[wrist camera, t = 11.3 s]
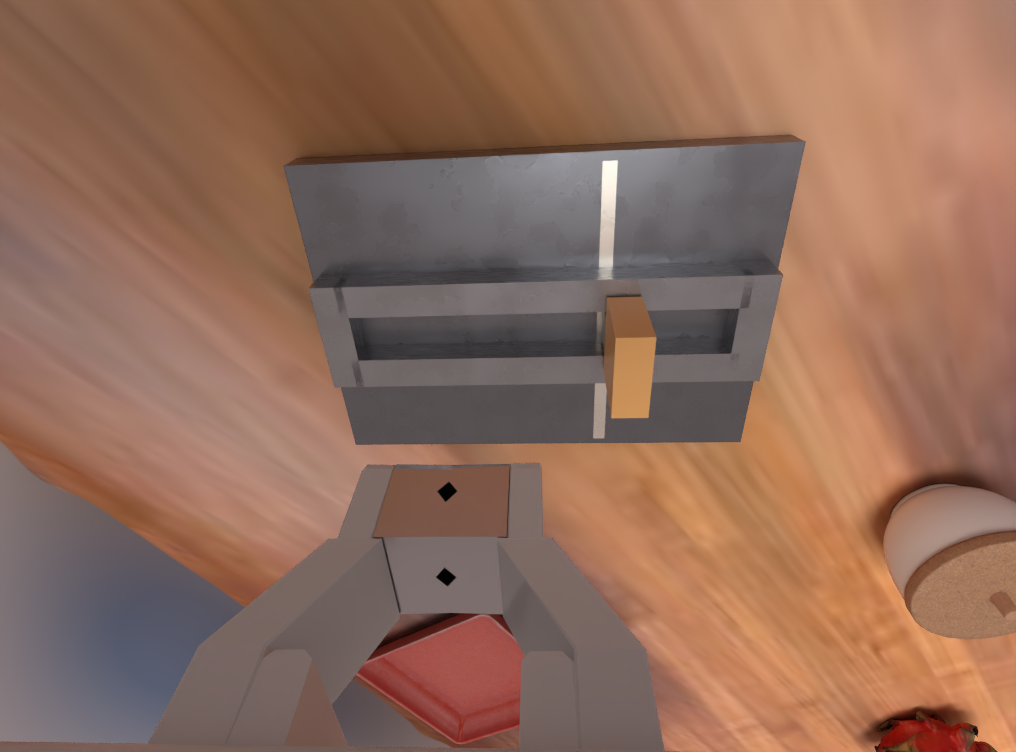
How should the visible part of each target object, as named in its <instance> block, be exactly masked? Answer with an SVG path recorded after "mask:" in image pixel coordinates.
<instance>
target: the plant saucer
mask: <svg viewBox="0 0 1016 752" xmlns="http://www.w3.org/2000/svg"><path fill="white" fill-rule="evenodd" d="M524 657H525V655H524V654H523V652H522V650H521V648H520V646H519V645H518V643H517V641H516V639H515V637H514V636H513V634H512V632H511V630H510V628H509V627H508V625H507V623H506V621H505V620H504V619H503V618H502V617H501V616H500V615H499V614H473V613H460V614H458V615H456V616H453V617H451V618H449V619H446V620H444V621H441V622H439V623H437V624H434V625H432V626H429V627H427V628H425V629H422V630H420V631H418V632H415V633H413V634H410V635H408V636H406V637H403V638H401V639H398V640H396V641H393V642H391V643H389V644H386V645H384V646H382V647H380V648H379V649H377V650H375V651H374V652H373V653H372V654H371V655H370V657H369V658H368V659H367V661H366V662H365V663H364V664H363V666H362V667H361V668H360V669H359V671H358V672H357V673H356V675H358V676H359V677H361V678H362V679H364V680H365V681H366V682H368V683H369V684H371V685H372V686H374V687H375V688H376V689H378V690H379V691H381V692H382V693H384V694H385V695H386V696H388V697H389V698H391V699H392V700H394V701H395V702H397V703H398V704H399V705H401V706H402V707H404V708H405V709H407V710H408V711H409V712H411V713H412V714H414V715H415V716H417V717H418V718H419V719H421V720H422V721H424V722H425V723H427V724H428V725H430V726H431V727H432V728H434V729H435V730H437V731H438V732H440V733H441V734H443V735H444V736H445V737H447V738H448V739H450V740H451V741H453V742H454V743H457V744H465V743H468V742H471V741H474V740H478V739H481V738H484V737H487V736H491V735H494V734H497V733H501V732H504V731H508V730H511V729H514V728H517V727H520V695H521V660H522V659H523V658H524Z"/></svg>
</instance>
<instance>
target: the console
mask: <svg viewBox="0 0 1016 752" xmlns="http://www.w3.org/2000/svg"><path fill="white" fill-rule="evenodd" d="M804 146H805V141H803V140H801V139H799V138H797V137H795V136H793V135H776V136H755V137H734V138H714V139H693V140H672V141H651V142H630V143H609V144H588V145H567V146H546V147H525V148H504V149H483V150H462V151H441V152H420V153H399V154H379V155H358V156H337V157H316V158H297V159H295V160H293V161H292V162H290V163H288V164H286V165H284V170H285V173H286V177H287V181H288V185H289V189H290V193H291V196H292V200H293V204H294V208H295V212H296V216H297V220H298V223H299V227H300V231H301V235H302V239H303V243H304V246H305V250H306V254H307V258H308V262H309V266H310V270H311V273H312V277H313V281H314V283H313V284H312V285H311V286H310V287H309V288H308V289H309V293H310V297H311V300H312V304H313V308H314V311H315V315H316V319H317V323H318V326H319V330H320V334H321V338H322V341H323V345H324V349H325V353H326V356H327V360H328V364H329V368H330V371H331V375H332V379H333V383H334V386H335V387H341V389H342V393H343V397H344V400H345V404H346V408H347V412H348V416H349V420H350V423H351V427H352V431H353V435H354V439H355V443H356V445H371V444H515V443H659V442H740V441H741V437H742V432H743V428H744V423H745V418H746V414H747V409H748V404H749V400H750V395H751V391H752V386H753V381H759V380H760V376H761V371H762V367H763V362H764V358H765V353H766V349H767V344H768V340H769V335H770V331H771V326H772V322H773V317H774V313H775V308H776V304H777V299H778V295H779V291H780V286H781V282H782V277H783V274H782V273H781V272H780V271H779V270H778V266H779V262H780V257H781V252H782V248H783V243H784V239H785V234H786V229H787V225H788V220H789V215H790V211H791V206H792V202H793V197H794V192H795V188H796V183H797V179H798V174H799V169H800V165H801V160H802V156H803V151H804ZM607 297H643V300H644V303H645V306H646V309H647V311H648V314H649V317H650V320H651V323H652V326H653V329H654V331H655V334H656V347H655V357H654V367H653V377H652V387H651V397H650V407H649V417H648V418H611V414H610V408H609V402H608V396H607V390H606V383H605V377H604V349H603V343H602V313H603V312H606V304H607Z"/></svg>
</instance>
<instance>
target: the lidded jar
mask: <svg viewBox="0 0 1016 752" xmlns="http://www.w3.org/2000/svg"><path fill="white" fill-rule="evenodd" d="M883 547H884V556H885V559H886V563H887V566H888V569H889V572H890V575H891V577H892V579H893V581H894V583H895V585H896V587H897V589H898V591H899V592H900V594H901V596H902V597H903V599H904V601H905V604H906V607H907V609H908V610H909V612H910V614H911V615H912V617H913V618H914V620H915V621H916V622H917V623H918V624H919V625H920V626H921V627H923V628H925V629H926V630H928V631H930V632H932V633H935V634H938V635H941V636H945V637H949V638H957V639H982V638H991V637H998V636H1002V635H1007V634H1011V633H1015V632H1016V502H1015V501H1013V500H1010V499H1008V498H1006V497H1004V496H1002V495H1000V494H997V493H995V492H991V491H988V490H984V489H980V488H974V487H966V486H959V485H956V484H935V485H929V486H926V487H923V488H920V489H917V490H915V491H913V492H911V493H910V494H908V495H906V496H905V497H904V498H902V499H901V500H900V501H899V502H898V503H897V504H896V505H895V507H894V508H893V510H892V512H891V516H890V520H889V522H888V524H887V527H886V529H885V533H884V540H883Z"/></svg>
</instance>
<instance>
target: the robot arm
mask: <svg viewBox="0 0 1016 752" xmlns="http://www.w3.org/2000/svg"><path fill="white" fill-rule="evenodd" d="M424 613H473V614H503V618H504V620H505V621H506V623H507V625H508V627H509V628H510V630H511V632H512V634H513V636H514V637H515V639H516V641H517V643H518V645H519V646H520V648H521V650H522V652H523V654H524V655H525V657H524V658H523V659H522V660H521V695H520V732H519V749H484V748H418V747H414V748H413V747H411V748H410V747H348V745H347V742H346V740H345V737H344V735H343V732H342V730H341V727H340V725H339V723H338V720H337V718H336V715H335V713H334V710H333V708H332V704H333V702H334V701H335V700H336V699H337V697H338V696H339V695H340V694H341V692H342V691H343V690H344V689H345V687H346V686H347V685H348V683H349V682H350V681H351V680H352V678H353V677H354V676H355V675H356V673H357V672H358V671H359V669H360V668H361V667H362V666H363V664H364V663H365V662H366V661H367V659H368V658H369V657H370V655H371V654H372V653H373V652H374V650H375V649H376V648H377V647H378V645H379V644H380V643H381V641H382V640H383V639H384V638H385V636H386V635H387V634H388V633H389V631H390V630H391V629H392V627H393V626H394V625H395V624H396V622H397V621H398V620H399V619H400V614H424ZM0 752H678V751H665V750H664V745H663V739H662V734H661V729H660V723H659V718H658V712H657V707H656V702H655V696H654V691H653V685H652V680H651V674H650V669H649V664H648V658H647V653H646V649H645V648H644V647H643V646H642V644H641V643H640V642H639V641H638V640H637V638H636V637H635V636H634V635H633V634H632V632H631V631H630V630H629V629H628V628H627V626H626V625H625V624H624V623H623V622H622V620H621V619H620V618H619V617H618V616H617V615H616V613H615V612H614V611H613V610H612V609H611V607H610V606H609V605H608V604H607V603H606V601H605V600H604V599H603V598H602V597H601V595H600V594H599V593H598V592H597V591H596V589H595V588H594V587H593V586H592V585H591V583H590V582H589V581H588V580H587V579H586V577H585V576H584V575H583V574H582V573H581V571H580V570H579V569H578V568H577V567H576V565H575V564H574V563H573V562H572V561H571V560H570V558H569V557H568V556H567V555H566V554H565V552H564V551H563V550H562V549H561V548H560V546H559V545H558V544H557V543H556V542H555V540H554V539H553V538H543V504H542V469H541V465H540V463H517V464H488V465H400V464H397V465H367V466H366V467H365V468H364V469H363V471H362V473H361V475H360V478H359V481H358V484H357V486H356V489H355V492H354V495H353V497H352V500H351V503H350V506H349V508H348V511H347V514H346V516H345V519H344V522H343V525H342V527H341V530H340V533H339V536H338V538H337V539H328V540H326V541H325V542H324V543H323V544H322V545H320V546H319V547H318V548H317V549H316V550H314V551H313V552H312V553H311V554H310V555H308V556H307V557H306V558H305V559H303V560H302V561H301V562H300V563H299V564H297V565H296V566H295V567H294V568H293V569H291V570H290V571H289V572H288V573H287V574H285V575H284V576H283V577H282V578H280V579H279V580H278V581H277V582H276V583H274V584H273V585H272V586H271V587H270V588H268V589H267V590H266V591H265V592H264V593H262V594H261V595H260V596H259V597H257V598H256V599H255V600H254V601H253V602H251V603H250V604H249V605H248V606H247V607H245V608H244V609H243V610H242V611H241V612H239V613H238V614H237V615H236V616H235V617H233V618H232V619H231V620H230V621H228V622H227V623H226V624H225V625H224V626H222V627H221V628H220V629H219V630H218V631H216V632H215V633H214V634H213V635H212V636H210V637H209V638H208V639H207V640H206V641H204V642H203V643H202V644H201V645H199V647H198V649H197V651H196V653H195V655H194V656H193V658H192V660H191V662H190V664H189V666H188V668H187V670H186V672H185V674H184V676H183V677H182V679H181V681H180V683H179V685H178V687H177V689H176V691H175V693H174V695H173V697H172V698H171V700H170V702H169V704H168V706H167V708H166V710H165V712H164V714H163V716H162V717H161V719H160V721H159V723H158V725H157V727H156V729H155V731H154V733H153V735H152V737H151V738H150V740H149V742H148V744H137V743H135V744H134V743H68V742H0Z"/></svg>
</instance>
